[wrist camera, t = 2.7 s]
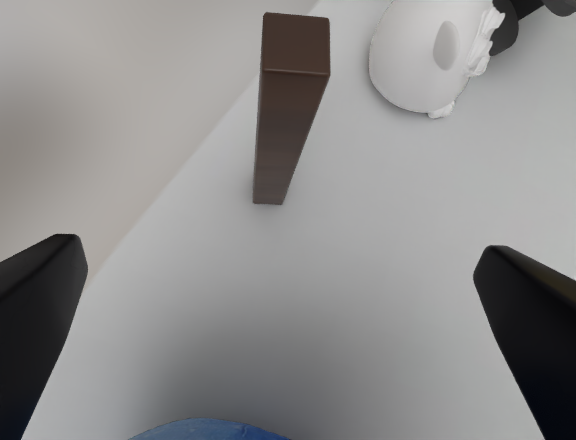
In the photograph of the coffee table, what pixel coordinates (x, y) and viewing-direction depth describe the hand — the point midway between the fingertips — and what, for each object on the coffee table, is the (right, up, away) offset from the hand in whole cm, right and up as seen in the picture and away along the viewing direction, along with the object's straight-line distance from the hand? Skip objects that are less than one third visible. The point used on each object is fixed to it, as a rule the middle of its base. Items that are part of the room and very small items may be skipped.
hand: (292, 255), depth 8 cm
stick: (-1, +2, +12) cm, 12 cm away
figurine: (+8, +10, +15) cm, 19 cm away
